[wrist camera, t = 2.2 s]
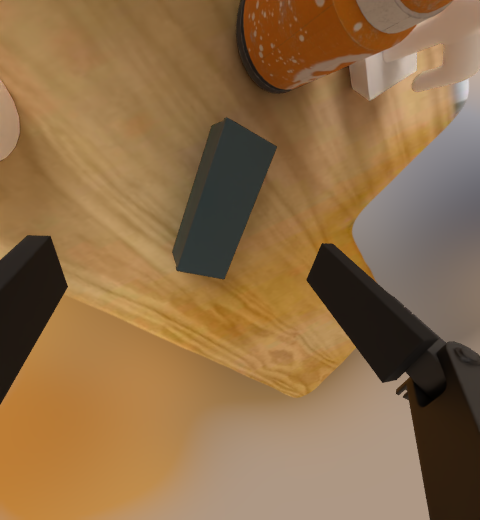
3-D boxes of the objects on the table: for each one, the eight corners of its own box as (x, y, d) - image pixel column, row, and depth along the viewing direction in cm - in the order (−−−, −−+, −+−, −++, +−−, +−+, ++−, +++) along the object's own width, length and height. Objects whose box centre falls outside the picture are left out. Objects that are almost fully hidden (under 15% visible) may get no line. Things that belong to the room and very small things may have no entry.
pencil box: (211, 123, 23) (226, 116, 19) (255, 147, 26) (277, 146, 22) (170, 252, 27) (176, 271, 23) (212, 261, 30) (224, 279, 26)
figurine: (346, 116, 29) (503, 88, 16) (331, 21, 24) (543, -124, 11) (388, 88, 30) (569, 41, 17) (382, -9, 24) (635, -178, 12)
